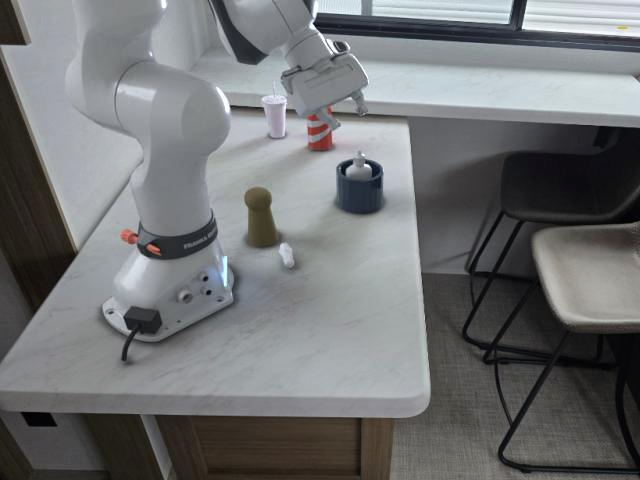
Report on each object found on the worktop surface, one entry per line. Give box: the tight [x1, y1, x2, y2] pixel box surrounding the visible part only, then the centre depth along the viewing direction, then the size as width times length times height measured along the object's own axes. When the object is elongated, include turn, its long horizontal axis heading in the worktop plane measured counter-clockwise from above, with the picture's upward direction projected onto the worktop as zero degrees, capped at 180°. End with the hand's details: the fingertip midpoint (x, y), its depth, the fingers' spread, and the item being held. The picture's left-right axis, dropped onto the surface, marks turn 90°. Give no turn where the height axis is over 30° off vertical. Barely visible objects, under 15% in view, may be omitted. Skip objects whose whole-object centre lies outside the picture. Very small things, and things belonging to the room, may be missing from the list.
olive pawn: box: [243, 186, 279, 248], centre depth 109 cm, size 6×6×11 cm
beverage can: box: [306, 106, 333, 152], centre depth 140 cm, size 6×6×12 cm
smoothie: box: [261, 80, 288, 139], centre depth 143 cm, size 6×6×14 cm
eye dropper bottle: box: [346, 148, 372, 180], centre depth 120 cm, size 4×6×12 cm
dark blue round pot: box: [335, 158, 385, 215], centre depth 122 cm, size 10×10×8 cm
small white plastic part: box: [278, 242, 295, 269], centre depth 106 cm, size 4×6×3 cm, turn 175°
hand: (351, 121), depth 114 cm, fingers open, 8 cm apart
